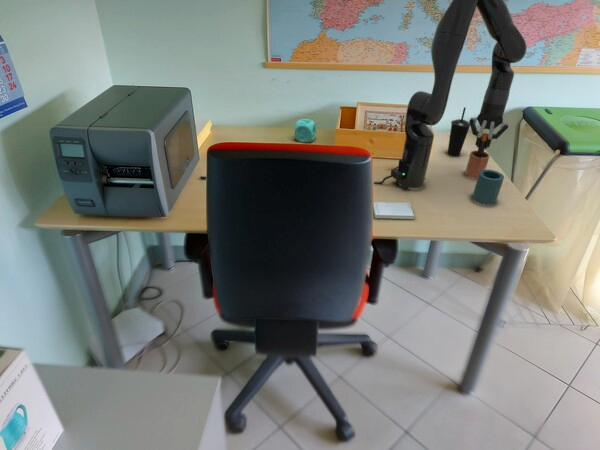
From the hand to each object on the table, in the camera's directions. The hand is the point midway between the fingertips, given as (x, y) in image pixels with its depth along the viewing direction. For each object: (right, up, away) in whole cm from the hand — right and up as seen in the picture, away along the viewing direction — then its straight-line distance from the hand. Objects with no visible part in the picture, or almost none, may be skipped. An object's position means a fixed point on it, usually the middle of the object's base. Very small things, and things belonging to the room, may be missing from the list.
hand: (481, 147), depth 149 cm
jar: (-3, -20, -9) cm, 22 cm away
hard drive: (-37, -25, -16) cm, 47 cm away
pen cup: (0, -10, +7) cm, 12 cm away
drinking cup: (-2, +1, +23) cm, 23 cm away
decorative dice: (-65, +10, +34) cm, 74 cm away
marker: (0, -8, +6) cm, 10 cm away
